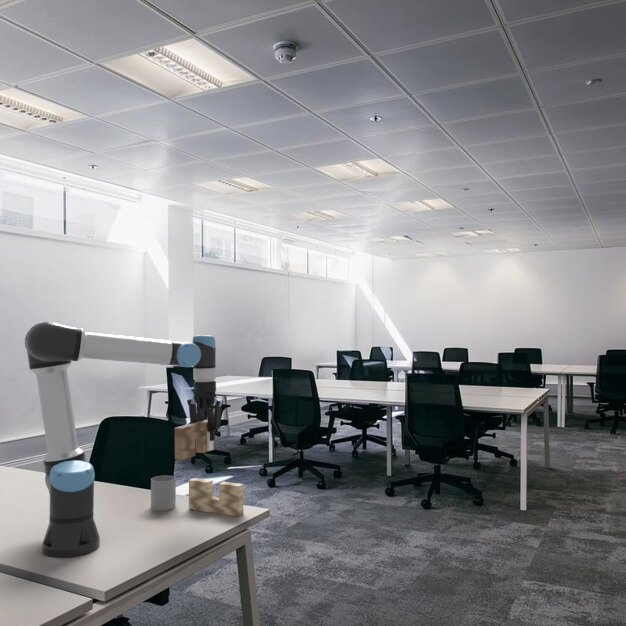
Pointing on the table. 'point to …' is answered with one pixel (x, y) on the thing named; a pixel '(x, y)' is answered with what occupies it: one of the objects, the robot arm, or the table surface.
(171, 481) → the cup
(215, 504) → the notched wooden slab
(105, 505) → the table surface
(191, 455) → the walnut plate
